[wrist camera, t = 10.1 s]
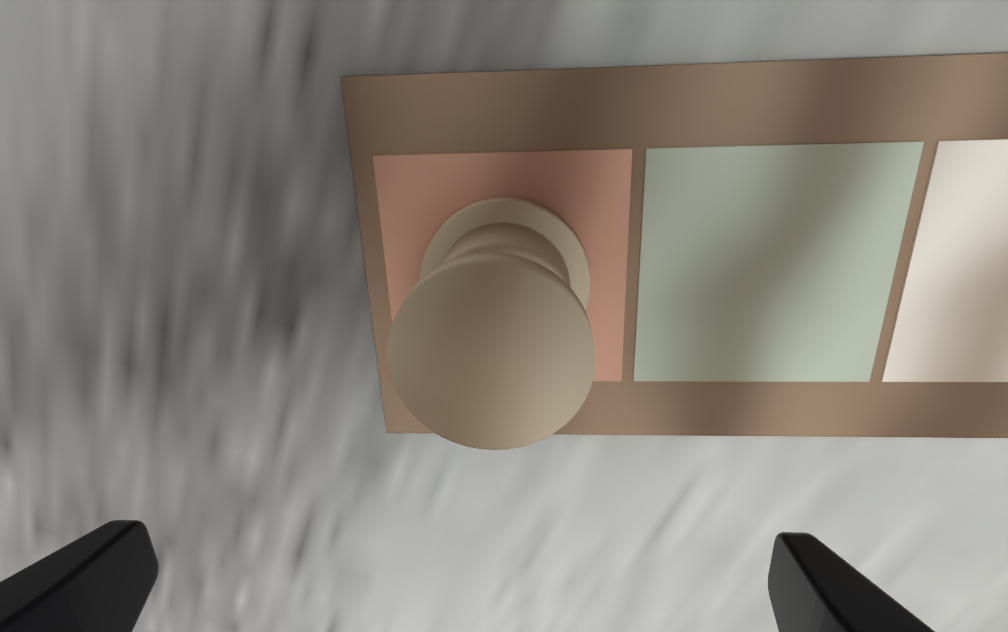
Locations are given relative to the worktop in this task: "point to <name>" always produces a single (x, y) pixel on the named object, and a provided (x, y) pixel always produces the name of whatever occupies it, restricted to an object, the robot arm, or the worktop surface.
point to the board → (728, 232)
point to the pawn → (496, 327)
